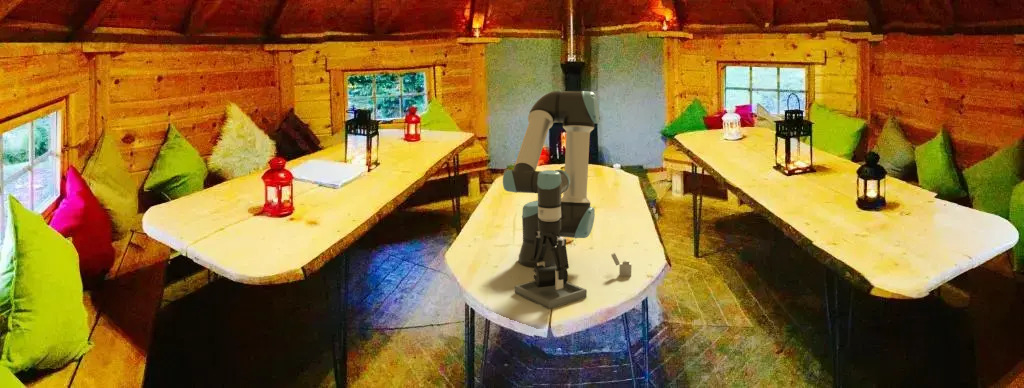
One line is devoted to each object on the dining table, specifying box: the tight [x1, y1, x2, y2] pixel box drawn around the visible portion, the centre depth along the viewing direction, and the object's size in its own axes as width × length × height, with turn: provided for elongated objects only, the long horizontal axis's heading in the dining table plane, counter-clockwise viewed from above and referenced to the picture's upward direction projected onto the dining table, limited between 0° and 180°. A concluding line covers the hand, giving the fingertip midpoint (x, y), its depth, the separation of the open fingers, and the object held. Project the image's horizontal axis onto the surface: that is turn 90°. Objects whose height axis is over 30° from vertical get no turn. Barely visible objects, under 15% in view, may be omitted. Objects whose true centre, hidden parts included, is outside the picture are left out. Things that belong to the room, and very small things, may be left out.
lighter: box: [610, 252, 632, 277], centre depth 253 cm, size 7×2×8 cm, turn 83°
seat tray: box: [514, 279, 588, 310], centre depth 236 cm, size 18×16×3 cm
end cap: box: [533, 264, 569, 288], centre depth 234 cm, size 10×7×7 cm
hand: (550, 284), depth 235 cm, fingers closed on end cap, 9 cm apart
